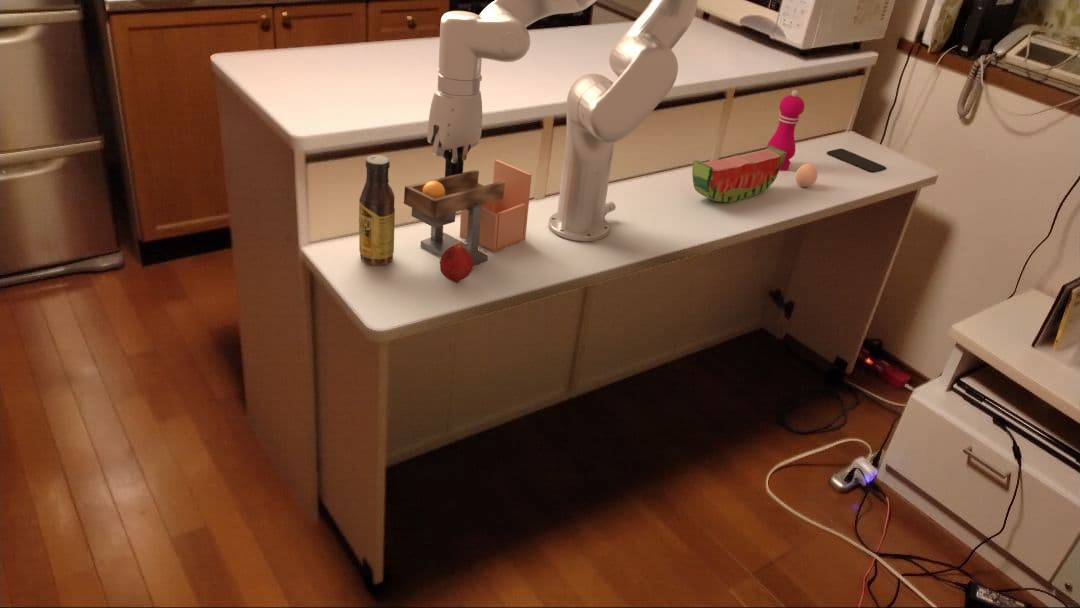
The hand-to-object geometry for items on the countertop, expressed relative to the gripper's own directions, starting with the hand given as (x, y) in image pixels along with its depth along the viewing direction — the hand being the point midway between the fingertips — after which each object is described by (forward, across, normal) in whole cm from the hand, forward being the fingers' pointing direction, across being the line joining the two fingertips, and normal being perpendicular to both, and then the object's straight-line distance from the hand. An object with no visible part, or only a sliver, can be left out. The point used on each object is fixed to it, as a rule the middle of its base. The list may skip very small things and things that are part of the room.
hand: (453, 179), depth 159 cm
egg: (+11, -87, +34) cm, 94 cm away
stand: (+12, +5, +6) cm, 14 cm away
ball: (-2, +11, +6) cm, 13 cm away
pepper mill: (+11, -94, +23) cm, 97 cm away
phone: (+11, -117, +35) cm, 123 cm away
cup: (+12, -6, +6) cm, 14 cm away
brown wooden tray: (+3, +6, +4) cm, 8 cm away
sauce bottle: (+12, +18, -1) cm, 21 cm away
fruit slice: (+11, -66, +26) cm, 72 cm away
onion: (+12, +12, +14) cm, 22 cm away
